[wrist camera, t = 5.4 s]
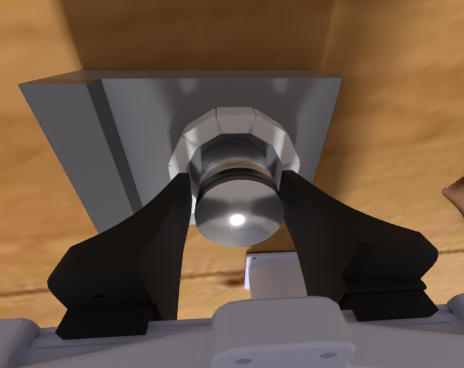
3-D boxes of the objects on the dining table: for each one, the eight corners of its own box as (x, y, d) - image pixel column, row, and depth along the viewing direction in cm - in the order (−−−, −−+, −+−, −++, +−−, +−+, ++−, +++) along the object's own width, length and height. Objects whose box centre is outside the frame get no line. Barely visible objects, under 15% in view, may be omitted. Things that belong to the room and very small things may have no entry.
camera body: (314, 69, 15) (357, 82, 10) (289, 192, 21) (308, 233, 16) (82, 69, 14) (17, 84, 9) (128, 197, 20) (103, 242, 16)
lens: (271, 137, 13) (294, 182, 9) (261, 193, 16) (276, 247, 12) (200, 135, 13) (191, 180, 9) (202, 192, 15) (196, 248, 11)
